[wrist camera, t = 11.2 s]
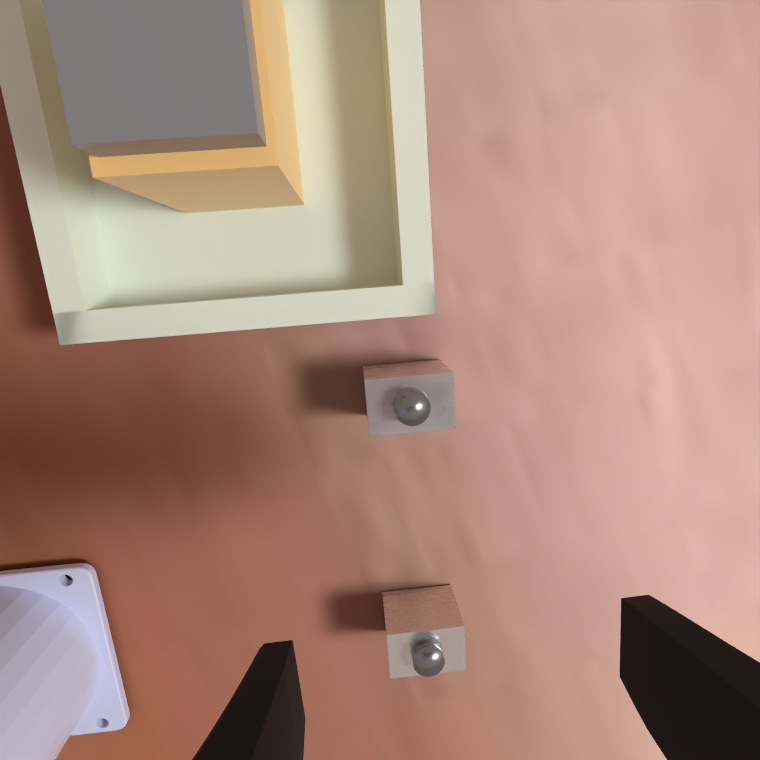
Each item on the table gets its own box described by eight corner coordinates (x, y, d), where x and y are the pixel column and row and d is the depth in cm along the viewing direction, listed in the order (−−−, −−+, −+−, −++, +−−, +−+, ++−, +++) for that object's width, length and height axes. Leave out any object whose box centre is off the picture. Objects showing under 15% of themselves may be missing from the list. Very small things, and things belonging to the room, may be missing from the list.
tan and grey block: (186, 213, 16) (65, 167, 9) (155, 11, 15) (-14, -218, 8) (304, 204, 16) (270, 153, 9) (283, 5, 15) (226, -224, 8)
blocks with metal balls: (385, 631, 21) (391, 689, 18) (362, 366, 18) (364, 383, 15) (452, 623, 21) (469, 680, 18) (439, 359, 18) (456, 375, 15)
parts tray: (100, 335, 17) (59, 344, 15) (4, -125, 14) (-67, -207, 12) (424, 308, 18) (435, 313, 15) (398, -142, 15) (408, -224, 12)
